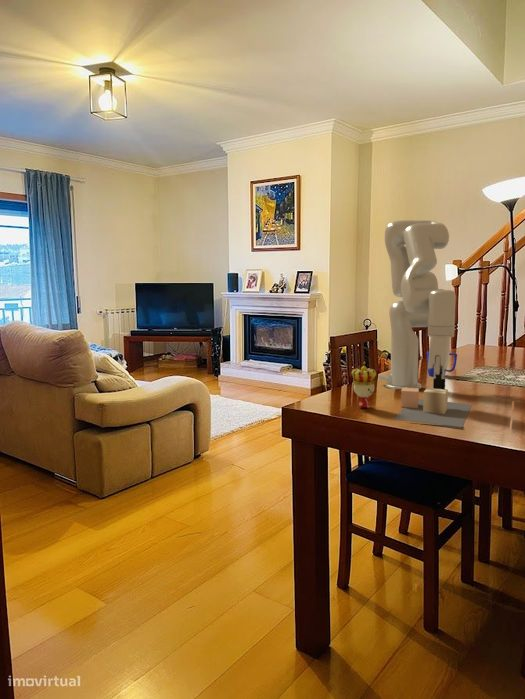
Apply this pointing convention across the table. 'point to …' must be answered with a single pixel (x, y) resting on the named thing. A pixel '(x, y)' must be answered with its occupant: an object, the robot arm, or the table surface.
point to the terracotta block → (409, 397)
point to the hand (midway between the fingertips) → (438, 391)
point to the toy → (364, 384)
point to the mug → (431, 372)
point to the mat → (436, 415)
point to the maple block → (435, 400)
